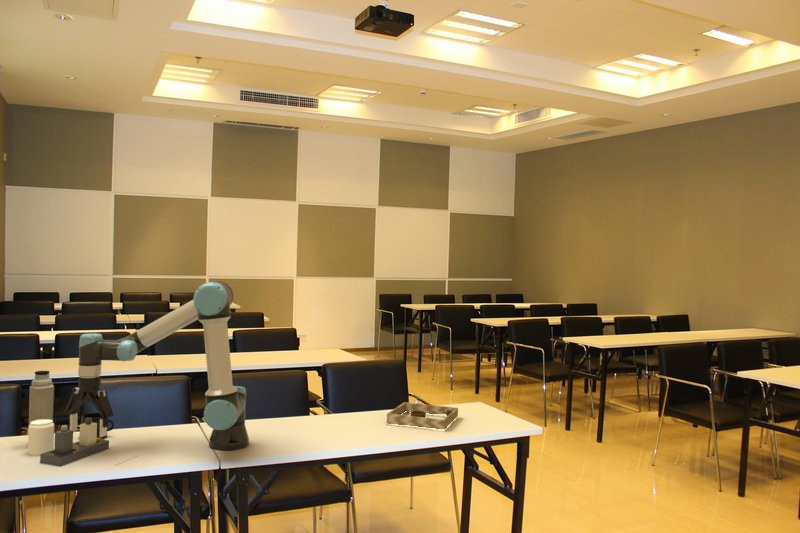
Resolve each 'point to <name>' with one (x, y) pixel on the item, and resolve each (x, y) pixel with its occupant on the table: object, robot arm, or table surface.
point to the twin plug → (63, 441)
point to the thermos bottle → (41, 397)
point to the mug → (96, 421)
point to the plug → (88, 433)
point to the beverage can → (40, 436)
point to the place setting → (422, 414)
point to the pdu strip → (74, 453)
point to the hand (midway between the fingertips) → (88, 433)
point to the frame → (399, 419)
